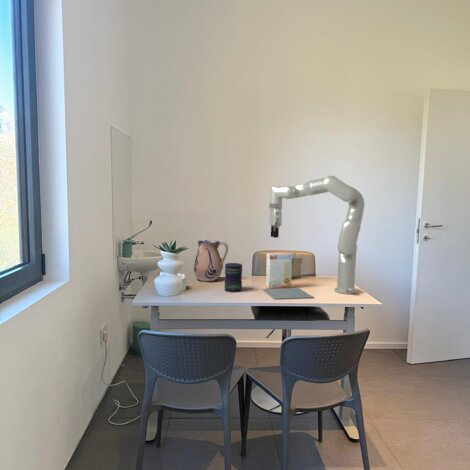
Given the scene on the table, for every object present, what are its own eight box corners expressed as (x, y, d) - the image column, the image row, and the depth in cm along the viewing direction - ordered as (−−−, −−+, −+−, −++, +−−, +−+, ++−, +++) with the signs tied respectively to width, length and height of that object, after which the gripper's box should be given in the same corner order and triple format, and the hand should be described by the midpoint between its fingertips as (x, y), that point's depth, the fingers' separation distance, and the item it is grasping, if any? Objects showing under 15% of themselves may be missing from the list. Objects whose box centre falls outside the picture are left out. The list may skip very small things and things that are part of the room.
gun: (283, 281, 261) (285, 258, 261) (278, 281, 263) (280, 257, 263) (301, 279, 281) (303, 257, 281) (297, 278, 283) (298, 257, 283)
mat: (313, 298, 221) (313, 297, 221) (274, 299, 216) (274, 298, 216) (298, 288, 242) (298, 287, 242) (262, 290, 237) (262, 288, 237)
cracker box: (287, 286, 248) (288, 252, 246) (291, 288, 242) (292, 253, 240) (265, 287, 244) (266, 252, 242) (268, 289, 239) (270, 253, 237)
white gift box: (185, 286, 241) (186, 272, 240) (186, 291, 228) (186, 276, 227) (167, 286, 240) (168, 272, 239) (167, 292, 227) (167, 276, 226)
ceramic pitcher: (194, 277, 269) (195, 239, 266) (227, 277, 270) (227, 239, 267) (192, 282, 251) (193, 242, 249) (227, 283, 252) (228, 242, 250)
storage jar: (228, 287, 241) (229, 257, 239) (244, 289, 237) (245, 258, 235) (221, 291, 231) (222, 259, 230) (238, 293, 228) (238, 260, 226)
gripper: (286, 207, 241) (285, 238, 243) (276, 206, 258) (275, 235, 259) (274, 207, 240) (272, 238, 241) (265, 206, 256) (264, 235, 258)
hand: (274, 236), depth 250 cm, fingers open, 3 cm apart
